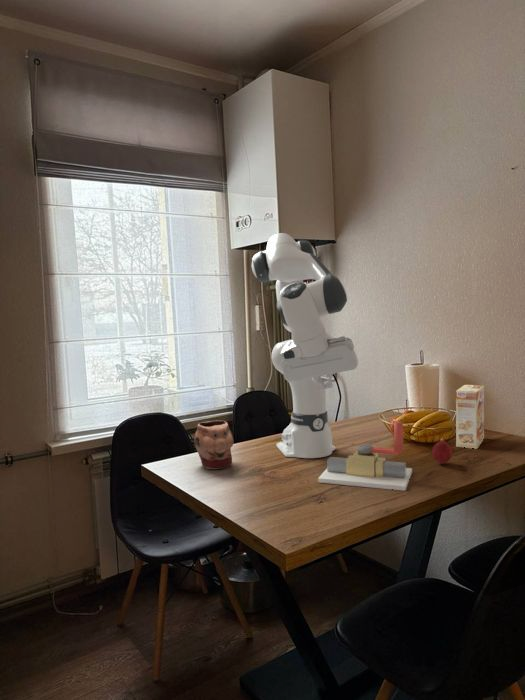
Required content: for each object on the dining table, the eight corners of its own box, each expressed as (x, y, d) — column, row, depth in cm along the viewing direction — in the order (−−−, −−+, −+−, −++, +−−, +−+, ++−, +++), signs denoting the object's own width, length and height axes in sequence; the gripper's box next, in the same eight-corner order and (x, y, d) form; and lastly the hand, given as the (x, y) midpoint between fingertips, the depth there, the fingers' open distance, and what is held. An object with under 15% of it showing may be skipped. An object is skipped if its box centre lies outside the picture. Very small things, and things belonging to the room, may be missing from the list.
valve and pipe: (326, 477, 152) (325, 452, 151) (331, 470, 157) (330, 447, 157) (403, 484, 143) (403, 458, 143) (406, 477, 149) (406, 452, 148)
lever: (355, 453, 149) (355, 421, 148) (360, 449, 153) (359, 418, 152) (401, 457, 143) (400, 424, 142) (404, 453, 147) (404, 420, 146)
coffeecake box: (477, 449, 174) (477, 391, 172) (455, 447, 178) (454, 390, 176) (485, 438, 187) (485, 385, 185) (464, 436, 190) (463, 384, 189)
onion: (453, 467, 156) (453, 441, 156) (433, 466, 158) (433, 440, 157) (450, 461, 162) (450, 436, 161) (431, 461, 163) (431, 436, 163)
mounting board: (318, 482, 148) (318, 478, 148) (332, 465, 162) (332, 461, 162) (405, 490, 138) (405, 486, 138) (412, 472, 153) (412, 468, 153)
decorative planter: (186, 460, 174) (184, 419, 173) (219, 454, 180) (217, 414, 179) (208, 476, 157) (206, 430, 156) (245, 469, 162) (243, 425, 161)
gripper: (351, 329, 135) (365, 374, 140) (279, 345, 143) (295, 387, 148) (348, 340, 130) (363, 387, 135) (273, 356, 138) (290, 399, 143)
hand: (327, 387), depth 142 cm, fingers closed
